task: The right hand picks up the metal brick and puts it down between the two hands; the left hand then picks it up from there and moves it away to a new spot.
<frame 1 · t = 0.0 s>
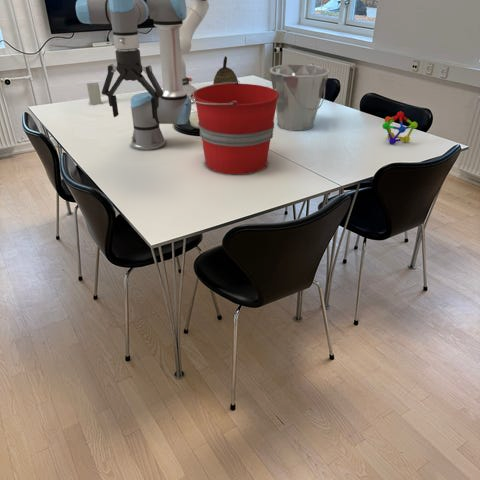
left hand: (135, 116, 150), 28 cm above the table, tool pointing down, fingers open, 13 cm apart
right hand: (121, 17, 232), 48 cm above the table, tool pointing down, fingers open, 8 cm apart
bell: (226, 97, 281), on the table
brick: (95, 103, 268), on the table
smartphone: (159, 119, 242), on the table
bucket 2: (234, 162, 189), on the table
bucket: (295, 125, 233), on the table
educational toy: (395, 143, 211), on the table
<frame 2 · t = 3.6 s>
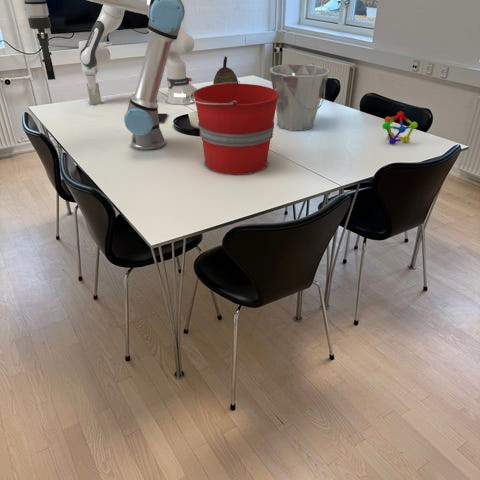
left hand: (51, 76, 177), 34 cm above the table, tool pointing down, fingers open, 13 cm apart
right hand: (94, 93, 265), 6 cm above the table, tool pointing down, fingers closed on brick, 5 cm apart
brick: (95, 103, 268), on the table, touching right hand
everything else where it was.
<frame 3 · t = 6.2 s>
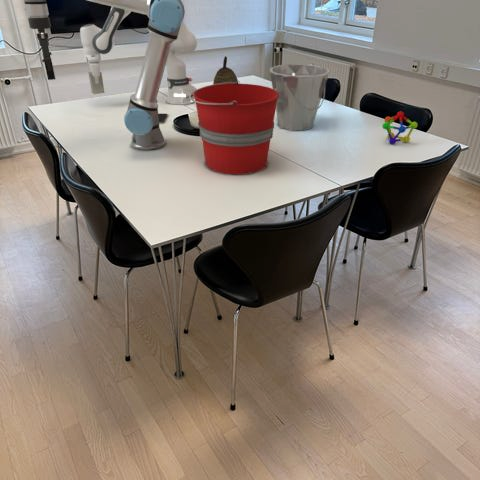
left hand: (51, 76, 177), 34 cm above the table, tool pointing down, fingers open, 13 cm apart
right hand: (96, 82, 253), 14 cm above the table, tool pointing down, fingers closed on brick, 5 cm apart
brick: (98, 92, 256), point 8 cm above the table, touching right hand
everything else where it was.
when the right hand's fingers open (7 cm above the table, at t = 9.0 s): brick drops 1 cm, on the table.
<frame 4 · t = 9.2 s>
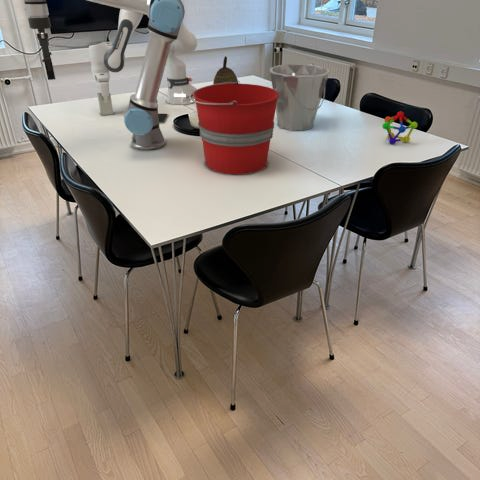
left hand: (51, 76, 177), 34 cm above the table, tool pointing down, fingers open, 13 cm apart
right hand: (104, 100, 245), 7 cm above the table, tool pointing down, fingers open, 7 cm apart
brick: (107, 114, 249), on the table
everything else where it was.
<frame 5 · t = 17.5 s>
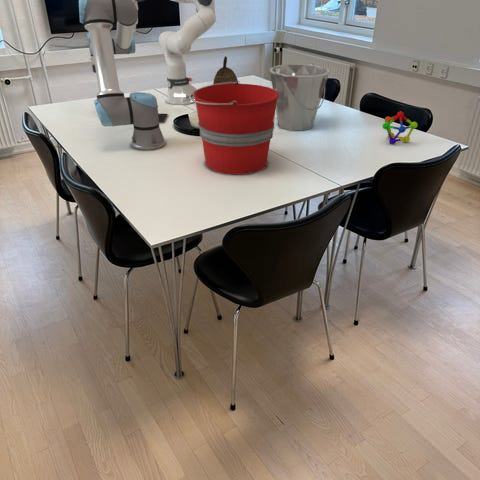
left hand: (106, 108, 247), 3 cm above the table, tool pointing down, fingers closed on brick, 5 cm apart
right hand: (132, 30, 278), 36 cm above the table, tool pointing down, fingers open, 8 cm apart
brick: (107, 114, 249), on the table, touching left hand
everything else where it was.
when the left hand's fingers open (5 cm above the table, at t = 22.9 s): brick drops 1 cm, on the table.
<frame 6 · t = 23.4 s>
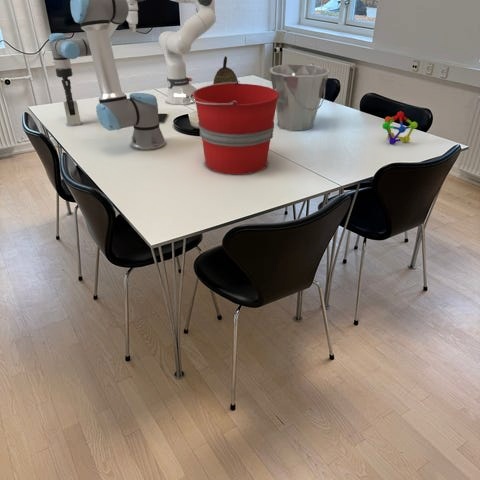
left hand: (71, 111, 230), 6 cm above the table, tool pointing down, fingers open, 12 cm apart
right hand: (132, 30, 278), 36 cm above the table, tool pointing down, fingers open, 8 cm apart
brick: (74, 124, 233), on the table
everything else where it was.
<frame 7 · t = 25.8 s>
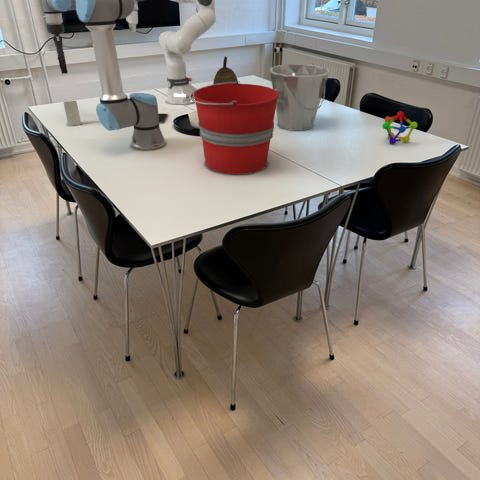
left hand: (63, 70, 219), 27 cm above the table, tool pointing down, fingers open, 13 cm apart
right hand: (132, 30, 278), 36 cm above the table, tool pointing down, fingers open, 8 cm apart
nothing on the table moved.
at the end: brick inside the target area (0.1 cm from its centre), on the table; brick tilted 0°; the two hands never held the brick at the same time; the left hand is holding nothing; the right hand is holding nothing; brick at rest at the end (0.0 cm/s) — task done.
